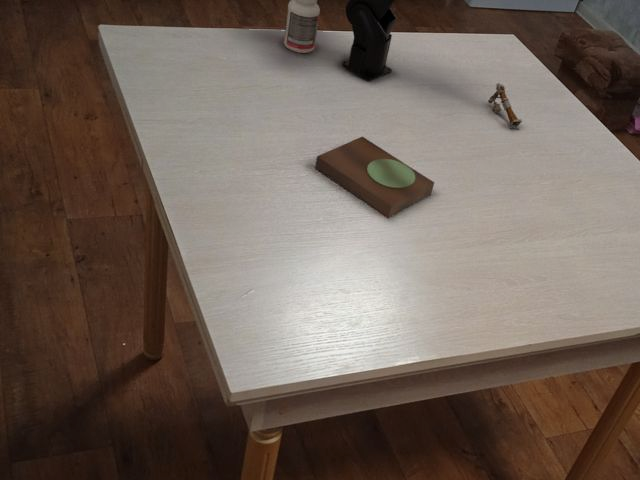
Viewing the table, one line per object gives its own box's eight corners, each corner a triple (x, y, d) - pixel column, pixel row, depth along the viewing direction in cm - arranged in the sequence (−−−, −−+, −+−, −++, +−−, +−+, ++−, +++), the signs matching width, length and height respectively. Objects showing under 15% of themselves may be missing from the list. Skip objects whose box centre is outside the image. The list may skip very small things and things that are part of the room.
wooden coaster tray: (360, 147, 125) (362, 134, 123) (431, 193, 120) (435, 181, 118) (314, 168, 118) (316, 155, 117) (388, 217, 114) (391, 204, 112)
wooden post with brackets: (491, 96, 143) (504, 79, 140) (509, 135, 142) (523, 120, 138) (482, 97, 143) (495, 80, 139) (500, 136, 141) (514, 121, 137)
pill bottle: (319, 52, 144) (328, -3, 137) (292, 55, 141) (300, -2, 134) (304, 37, 146) (312, -18, 140) (277, 40, 144) (284, -17, 137)
